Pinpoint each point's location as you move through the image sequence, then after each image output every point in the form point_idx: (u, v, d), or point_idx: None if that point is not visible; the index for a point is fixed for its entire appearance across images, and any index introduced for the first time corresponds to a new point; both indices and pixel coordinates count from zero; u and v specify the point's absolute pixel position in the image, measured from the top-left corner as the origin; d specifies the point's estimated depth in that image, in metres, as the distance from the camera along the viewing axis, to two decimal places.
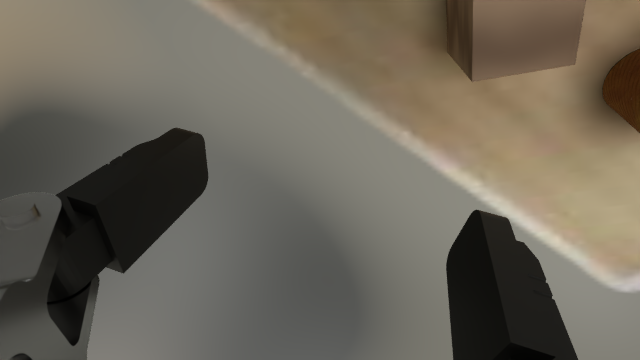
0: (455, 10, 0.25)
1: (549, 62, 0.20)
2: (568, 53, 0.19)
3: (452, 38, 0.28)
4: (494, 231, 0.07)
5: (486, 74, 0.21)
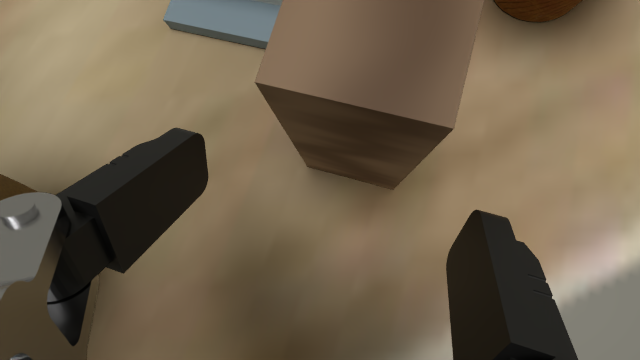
0: (328, 153, 0.16)
1: None
2: None
3: (370, 172, 0.17)
4: (494, 231, 0.07)
5: (447, 97, 0.09)
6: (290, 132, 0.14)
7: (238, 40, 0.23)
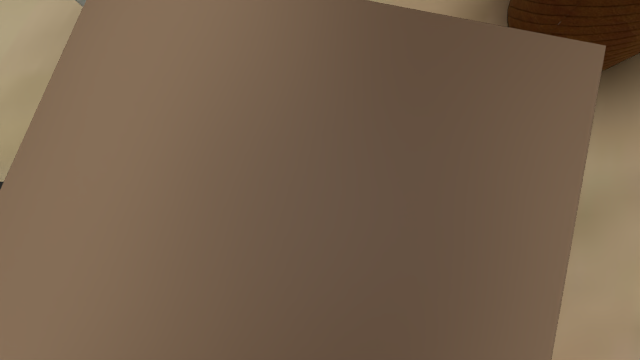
0: None
1: (538, 167, 0.03)
2: (520, 69, 0.03)
3: None
4: None
5: None
6: None
7: None
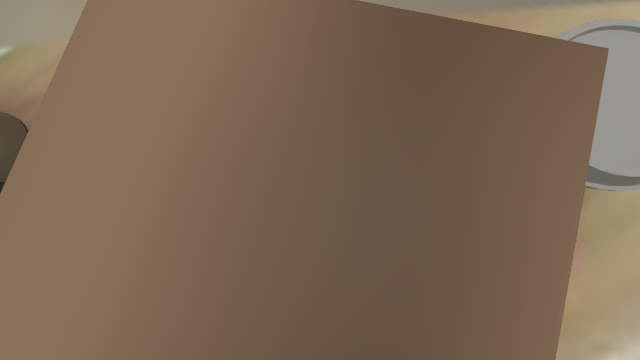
0: None
1: (541, 170, 0.03)
2: (522, 72, 0.03)
3: None
4: None
5: None
6: None
7: None
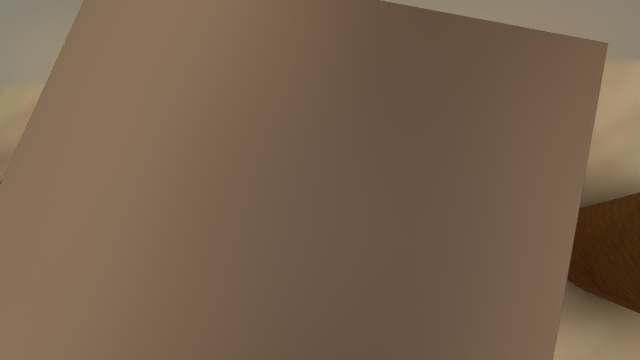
0: None
1: (540, 165, 0.03)
2: (521, 67, 0.03)
3: None
4: None
5: None
6: None
7: None
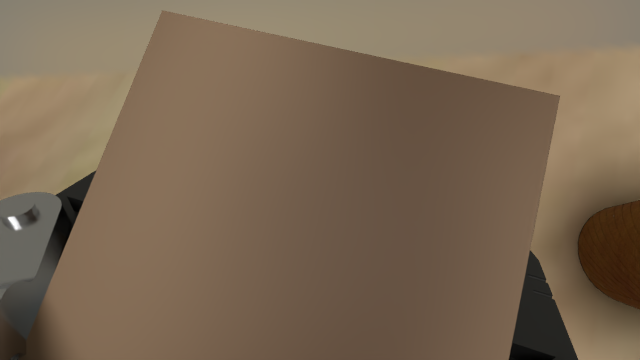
0: None
1: (506, 191, 0.04)
2: (493, 114, 0.04)
3: None
4: None
5: None
6: None
7: None
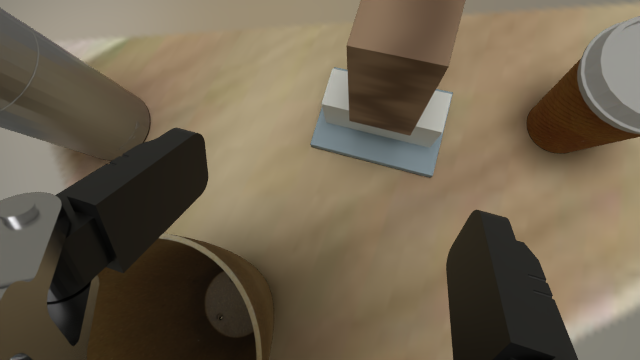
0: (370, 101, 0.24)
1: None
2: None
3: (396, 117, 0.26)
4: (494, 231, 0.07)
5: (445, 51, 0.17)
6: (351, 84, 0.23)
7: (360, 158, 0.35)
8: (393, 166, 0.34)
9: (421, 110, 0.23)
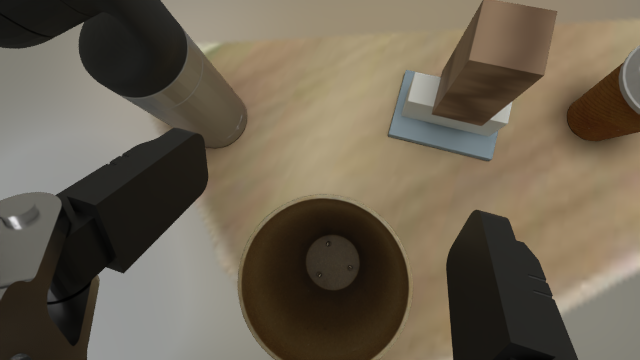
0: (462, 99, 0.32)
1: (549, 25, 0.25)
2: (546, 14, 0.26)
3: (478, 111, 0.33)
4: (494, 231, 0.07)
5: (541, 64, 0.25)
6: (453, 86, 0.30)
7: (429, 145, 0.42)
8: (458, 152, 0.42)
9: (503, 106, 0.31)
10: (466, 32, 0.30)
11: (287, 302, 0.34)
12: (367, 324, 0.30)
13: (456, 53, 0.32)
